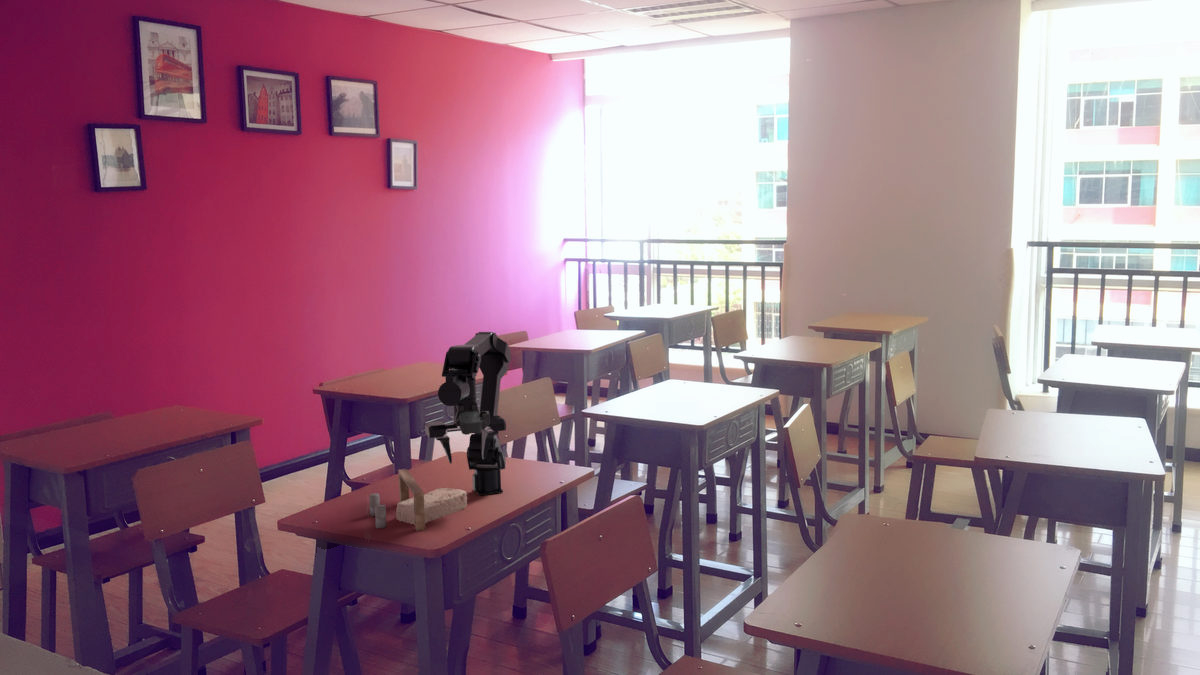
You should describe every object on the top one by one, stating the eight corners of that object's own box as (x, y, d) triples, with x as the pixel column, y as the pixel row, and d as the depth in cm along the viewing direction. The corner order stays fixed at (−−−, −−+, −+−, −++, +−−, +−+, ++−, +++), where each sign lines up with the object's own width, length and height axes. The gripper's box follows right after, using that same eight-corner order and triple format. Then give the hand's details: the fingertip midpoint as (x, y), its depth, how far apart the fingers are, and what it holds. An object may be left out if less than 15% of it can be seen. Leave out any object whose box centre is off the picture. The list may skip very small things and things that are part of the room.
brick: (418, 527, 216) (418, 507, 215) (394, 521, 221) (393, 501, 220) (469, 509, 229) (468, 490, 229) (444, 504, 234) (444, 485, 234)
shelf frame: (408, 503, 234) (406, 468, 233) (425, 529, 213) (423, 492, 212) (366, 508, 230) (364, 473, 229) (379, 536, 209) (378, 497, 208)
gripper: (432, 407, 214) (435, 473, 216) (511, 400, 221) (513, 464, 222) (423, 399, 224) (426, 462, 226) (499, 392, 231) (501, 454, 233)
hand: (467, 461), depth 227 cm, fingers open, 8 cm apart
